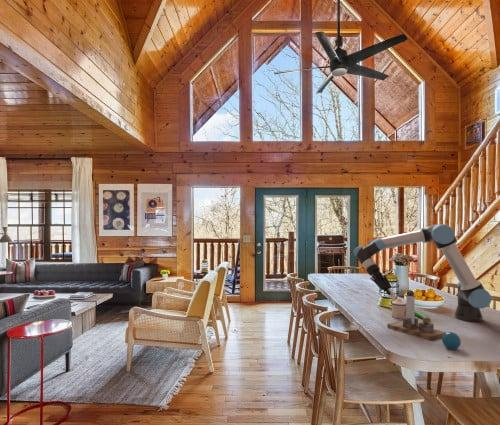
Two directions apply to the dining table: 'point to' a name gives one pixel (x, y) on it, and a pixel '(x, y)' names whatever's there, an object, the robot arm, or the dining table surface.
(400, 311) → the teacup with lid
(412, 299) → the lever
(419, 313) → the green onion
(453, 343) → the ball
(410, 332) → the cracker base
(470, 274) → the robot arm
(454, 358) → the dining table surface
